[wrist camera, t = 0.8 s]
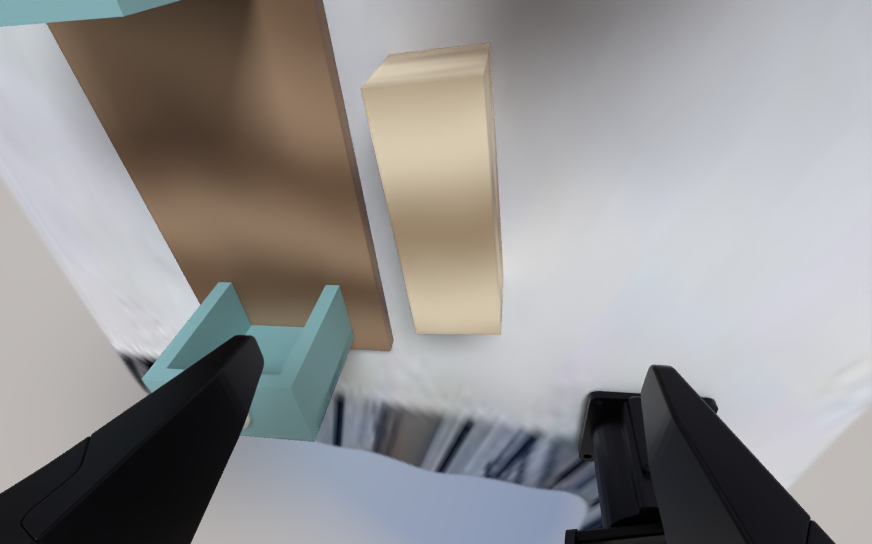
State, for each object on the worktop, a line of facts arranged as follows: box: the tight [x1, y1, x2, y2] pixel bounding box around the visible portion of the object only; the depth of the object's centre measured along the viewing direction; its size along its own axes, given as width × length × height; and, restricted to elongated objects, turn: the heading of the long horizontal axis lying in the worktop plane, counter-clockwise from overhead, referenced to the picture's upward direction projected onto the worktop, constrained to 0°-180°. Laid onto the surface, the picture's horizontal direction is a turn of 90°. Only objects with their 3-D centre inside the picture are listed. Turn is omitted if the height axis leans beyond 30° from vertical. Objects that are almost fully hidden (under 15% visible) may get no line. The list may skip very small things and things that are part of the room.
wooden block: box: [361, 43, 503, 335], centre depth 17 cm, size 10×4×4 cm, turn 7°
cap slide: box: [142, 282, 354, 442], centre depth 21 cm, size 4×6×6 cm, turn 95°
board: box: [47, 0, 393, 351], centre depth 19 cm, size 21×10×1 cm, turn 5°
